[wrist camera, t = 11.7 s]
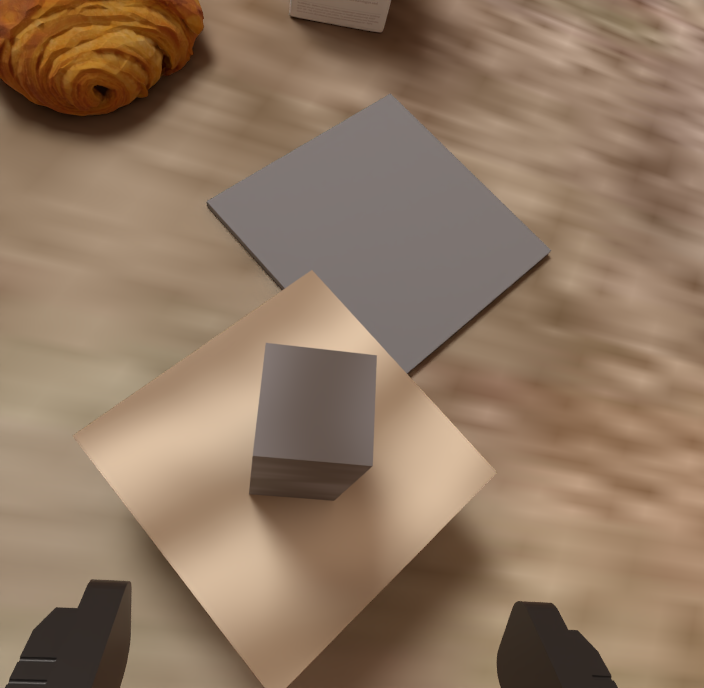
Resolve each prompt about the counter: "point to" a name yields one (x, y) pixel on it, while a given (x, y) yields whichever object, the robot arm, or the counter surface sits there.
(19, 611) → the counter surface
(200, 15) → the croissant
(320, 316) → the lid
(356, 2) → the supplement box
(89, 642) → the robot arm
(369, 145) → the mat
